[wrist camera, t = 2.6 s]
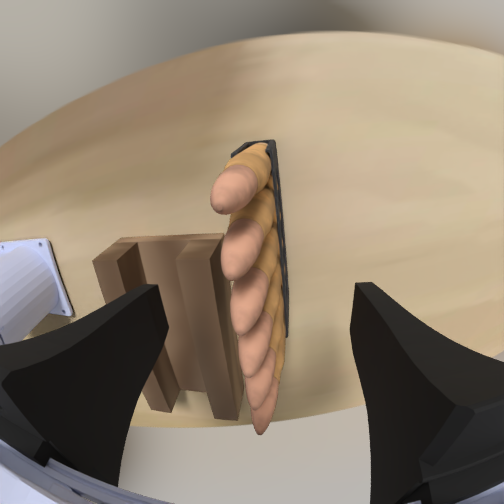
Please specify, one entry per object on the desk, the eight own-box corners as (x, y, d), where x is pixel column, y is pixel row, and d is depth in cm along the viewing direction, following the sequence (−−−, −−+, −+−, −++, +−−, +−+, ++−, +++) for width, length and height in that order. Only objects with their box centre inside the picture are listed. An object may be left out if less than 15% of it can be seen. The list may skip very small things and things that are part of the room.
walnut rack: (164, 379, 27) (151, 409, 23) (120, 237, 21) (92, 260, 17) (244, 386, 26) (237, 420, 22) (224, 233, 20) (209, 259, 16)
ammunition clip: (244, 142, 17) (172, 171, 6) (275, 139, 17) (255, 160, 6) (263, 296, 21) (239, 444, 10) (289, 294, 21) (284, 445, 10)
